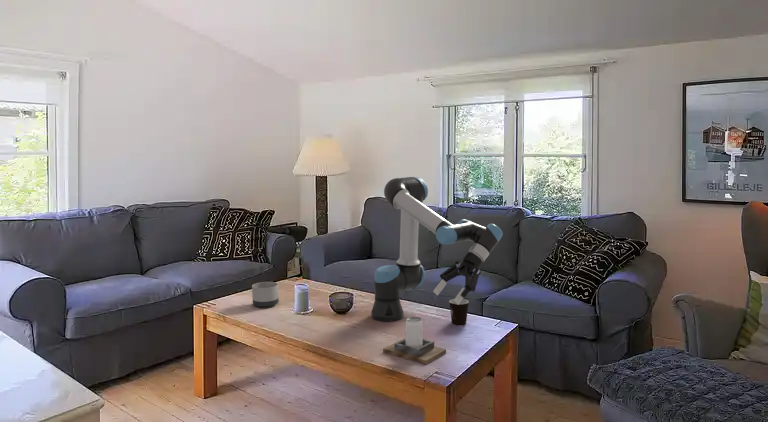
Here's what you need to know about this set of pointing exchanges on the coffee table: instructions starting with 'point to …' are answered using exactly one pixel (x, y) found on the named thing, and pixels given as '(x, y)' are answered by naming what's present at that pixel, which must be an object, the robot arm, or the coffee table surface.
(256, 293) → the planter
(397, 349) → the wooden board with frame
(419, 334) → the can
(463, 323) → the coffee mug
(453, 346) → the coffee table surface
